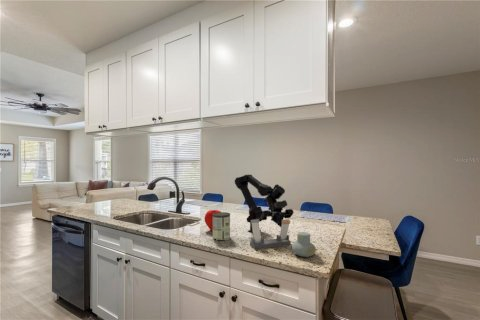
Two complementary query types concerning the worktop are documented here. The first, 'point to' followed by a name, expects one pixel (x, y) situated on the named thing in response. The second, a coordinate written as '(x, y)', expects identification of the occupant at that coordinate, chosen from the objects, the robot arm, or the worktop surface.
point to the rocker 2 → (284, 228)
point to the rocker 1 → (256, 230)
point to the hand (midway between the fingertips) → (282, 227)
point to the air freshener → (303, 245)
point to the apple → (210, 218)
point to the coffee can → (221, 226)
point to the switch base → (270, 242)
